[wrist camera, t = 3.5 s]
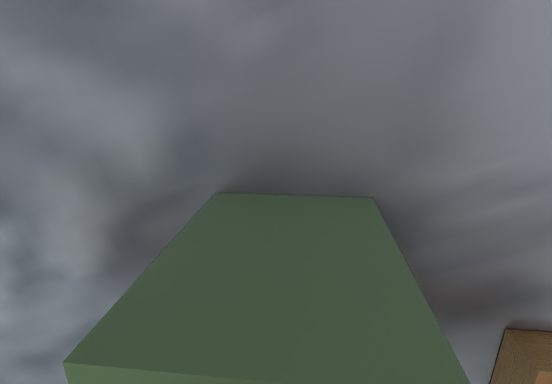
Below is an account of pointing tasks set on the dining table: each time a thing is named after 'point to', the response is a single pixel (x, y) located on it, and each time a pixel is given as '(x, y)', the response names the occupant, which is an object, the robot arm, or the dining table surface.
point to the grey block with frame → (524, 358)
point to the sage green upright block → (272, 303)
